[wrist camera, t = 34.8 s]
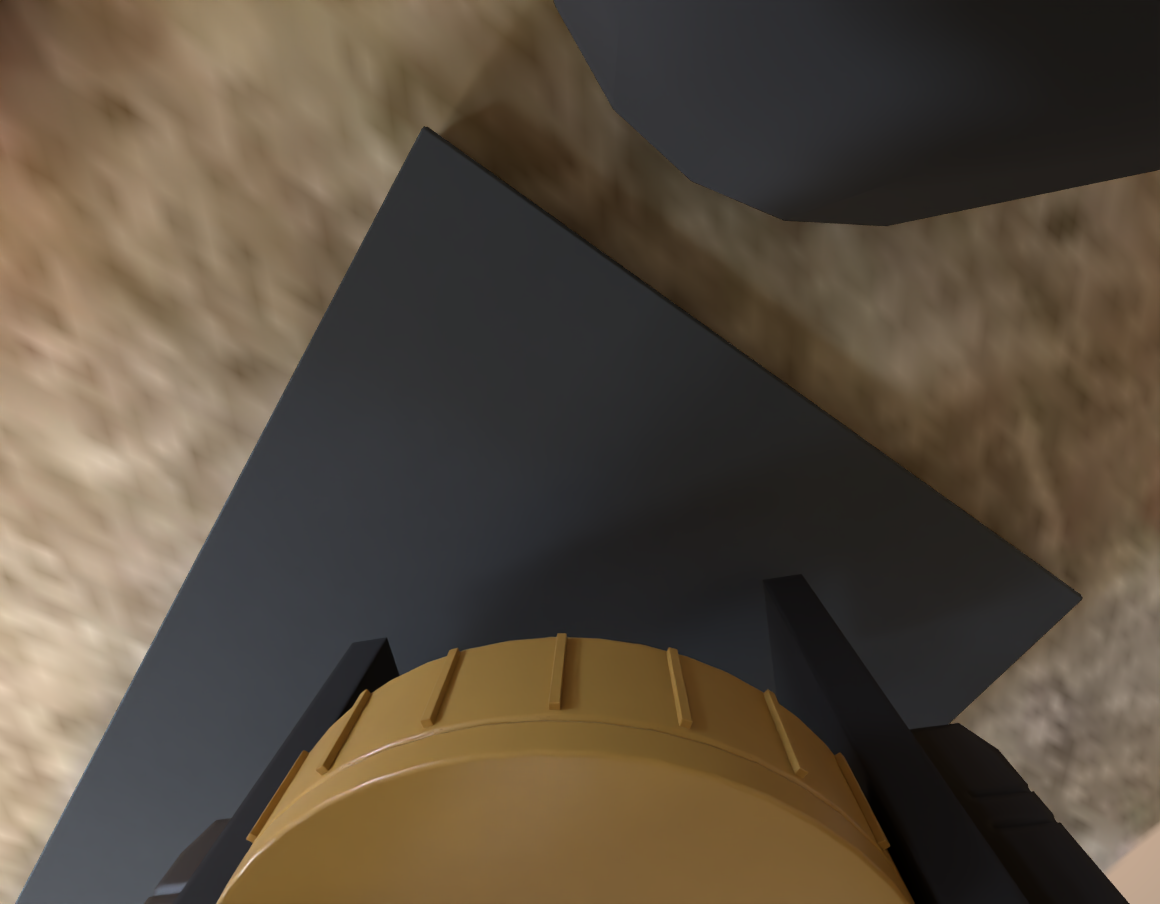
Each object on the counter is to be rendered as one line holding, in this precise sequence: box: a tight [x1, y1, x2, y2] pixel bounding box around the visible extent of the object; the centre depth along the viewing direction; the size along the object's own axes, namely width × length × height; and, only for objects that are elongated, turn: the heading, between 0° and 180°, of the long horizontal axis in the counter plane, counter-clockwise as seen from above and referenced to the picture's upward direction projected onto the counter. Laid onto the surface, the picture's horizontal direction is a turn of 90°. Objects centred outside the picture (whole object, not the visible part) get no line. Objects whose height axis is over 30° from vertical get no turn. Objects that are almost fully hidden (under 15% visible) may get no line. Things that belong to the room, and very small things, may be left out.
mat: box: [15, 126, 1082, 904], centre depth 14 cm, size 26×16×1 cm, turn 146°
